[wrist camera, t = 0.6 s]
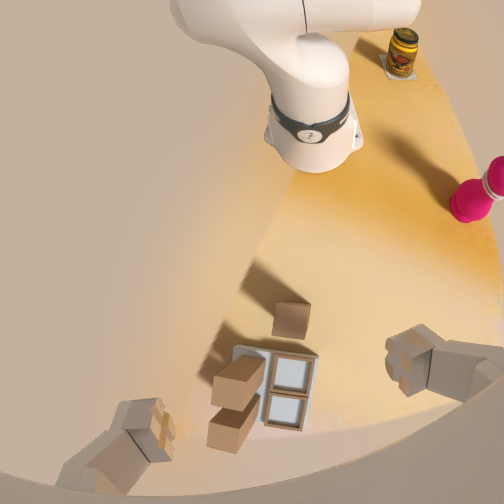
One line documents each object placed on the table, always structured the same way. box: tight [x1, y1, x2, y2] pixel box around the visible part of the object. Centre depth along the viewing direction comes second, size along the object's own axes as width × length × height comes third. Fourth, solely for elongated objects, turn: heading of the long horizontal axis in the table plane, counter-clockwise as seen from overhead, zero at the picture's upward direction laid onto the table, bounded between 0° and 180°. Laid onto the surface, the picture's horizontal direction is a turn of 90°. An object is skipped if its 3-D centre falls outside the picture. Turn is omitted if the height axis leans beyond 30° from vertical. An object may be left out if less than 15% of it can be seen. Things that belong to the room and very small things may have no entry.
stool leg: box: [272, 301, 311, 340], centre depth 41 cm, size 4×4×14 cm
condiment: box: [378, 27, 418, 80], centre depth 45 cm, size 7×8×12 cm
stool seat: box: [207, 344, 319, 454], centre depth 39 cm, size 13×14×16 cm
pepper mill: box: [450, 156, 504, 223], centre depth 34 cm, size 7×7×20 cm
